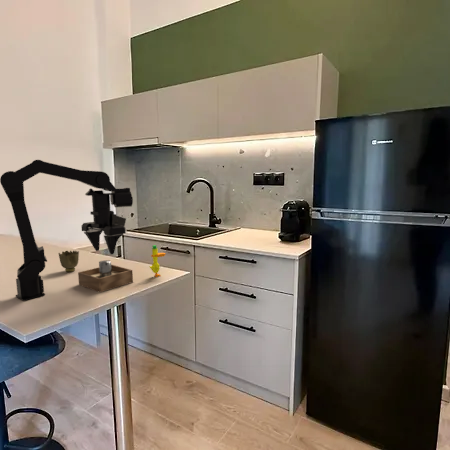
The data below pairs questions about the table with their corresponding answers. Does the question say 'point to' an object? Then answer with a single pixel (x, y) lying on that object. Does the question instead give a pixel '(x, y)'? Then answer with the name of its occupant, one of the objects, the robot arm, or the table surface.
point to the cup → (69, 260)
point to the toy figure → (155, 255)
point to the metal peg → (105, 268)
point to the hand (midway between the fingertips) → (104, 252)
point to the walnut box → (105, 278)
